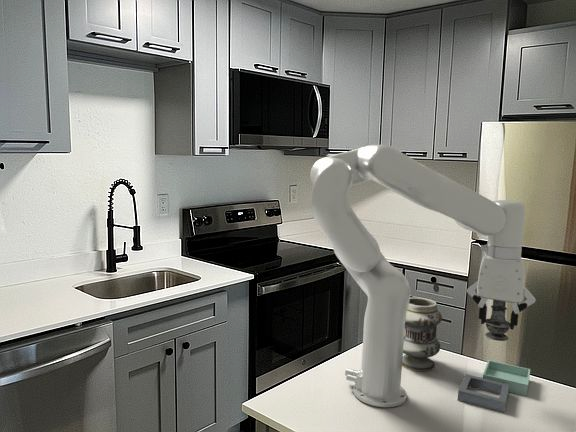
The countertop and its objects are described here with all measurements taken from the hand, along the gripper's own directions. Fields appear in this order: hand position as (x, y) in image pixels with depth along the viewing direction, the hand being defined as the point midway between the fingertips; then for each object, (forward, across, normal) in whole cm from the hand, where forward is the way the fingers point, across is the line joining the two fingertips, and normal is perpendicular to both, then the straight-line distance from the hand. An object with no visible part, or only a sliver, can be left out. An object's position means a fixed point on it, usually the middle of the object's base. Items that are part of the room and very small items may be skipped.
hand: (497, 324), depth 120 cm
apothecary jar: (+18, -21, +6) cm, 28 cm away
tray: (+18, +2, +8) cm, 20 cm away
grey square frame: (+18, -2, -3) cm, 18 cm away
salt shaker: (+3, 0, 0) cm, 3 cm away
